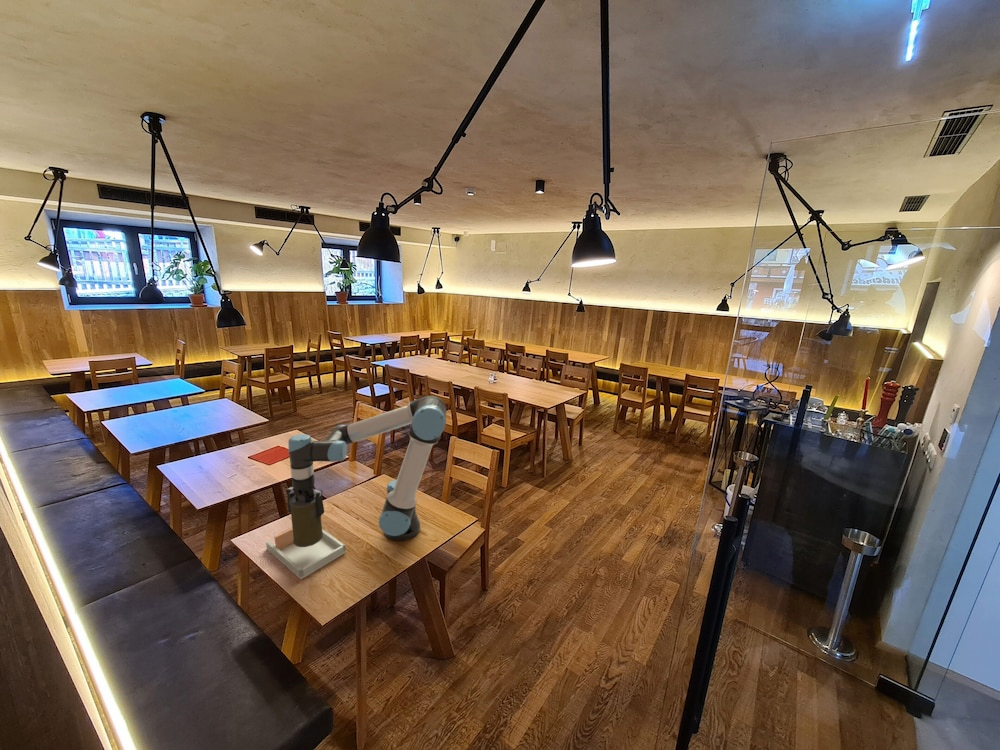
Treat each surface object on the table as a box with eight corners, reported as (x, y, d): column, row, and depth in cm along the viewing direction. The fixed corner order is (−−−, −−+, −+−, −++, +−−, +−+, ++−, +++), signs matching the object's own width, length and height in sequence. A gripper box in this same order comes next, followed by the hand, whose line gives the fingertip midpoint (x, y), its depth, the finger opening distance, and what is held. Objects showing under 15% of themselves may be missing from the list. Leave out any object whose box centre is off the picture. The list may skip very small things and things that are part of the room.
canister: (311, 549, 144) (306, 501, 139) (287, 544, 146) (281, 497, 141) (329, 531, 154) (325, 486, 150) (306, 527, 156) (302, 483, 151)
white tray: (345, 552, 153) (345, 545, 153) (300, 579, 139) (300, 571, 138) (310, 527, 168) (310, 520, 167) (266, 549, 154) (266, 542, 153)
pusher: (314, 531, 163) (313, 519, 162) (277, 550, 151) (275, 537, 150) (305, 525, 167) (304, 513, 166) (268, 543, 155) (267, 530, 154)
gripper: (332, 473, 146) (336, 526, 151) (286, 468, 149) (291, 520, 154) (320, 483, 139) (325, 538, 144) (272, 477, 141) (278, 532, 147)
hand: (307, 529), depth 149 cm, fingers open, 6 cm apart
